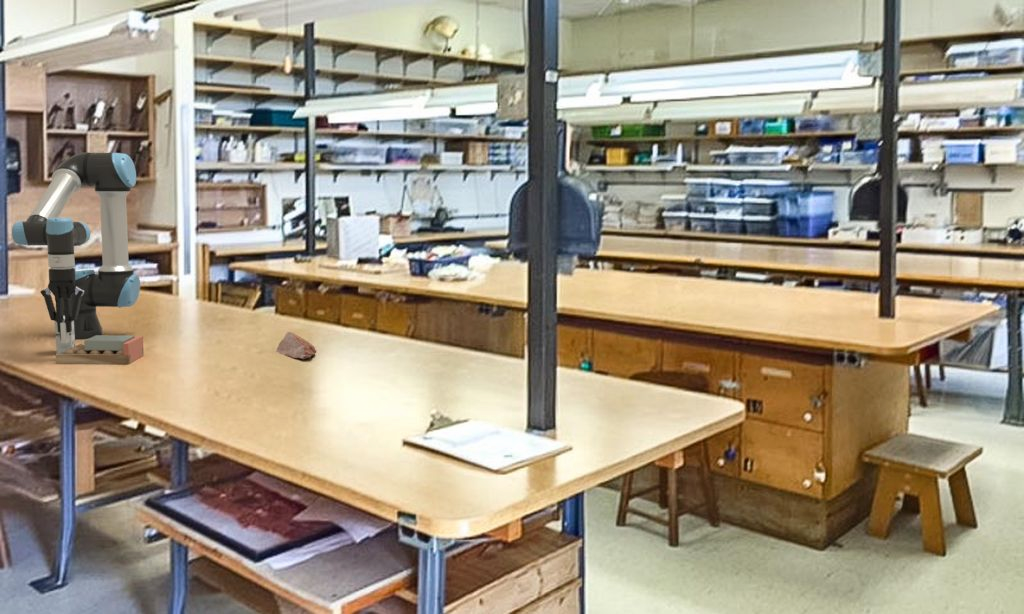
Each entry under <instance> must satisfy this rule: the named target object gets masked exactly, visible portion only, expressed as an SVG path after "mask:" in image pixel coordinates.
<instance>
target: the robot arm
mask: <svg viewBox="0 0 1024 614" xmlns="http://www.w3.org/2000/svg"><path fill="white" fill-rule="evenodd" d="M136 170H137V169H136V167H135V164H134V161H133V160H132V158H131V157H130V155H128V154H127V153H122V152H80V153H76V154H74V155H72V156H70V157H68V158H67V159H65V160H64V161H62V162H61V163H60V164H59V165H58V166H57V168H56V169H55V170H54V171H53V172H52V175H51V182H50V183H49V185H48V186H47V188H46V190H44V193H43V194H42V196H41V197H40V200H38V202H37V204H36V205H35V206H34V208H33V210H32V211H31V213H30V214H29V216H28V218H27V219H26V221H24V220H20V221H17V222H16V221H15V222H14V223H13V225H12V228H11V237H12V241H13V242H14V243H15V244H16V245H19V246H28V247H30V246H32V247H33V246H34V247H35V246H40V247H41V246H46V247H47V264H48V267H49V268H48V284H47V287H45V288H44V289H42V290H40V294H41V295H42V297H43V299H44V302H45V305H46V308H47V312H48V315H49V319H50V320H51V321H54V322H55V321H56V322H57V328H58V332H61V343H63V344H66V343H68V342H69V333H70V332H71V331H72V321H74V333H75V340H76V339H77V340H78V339H79V340H80V339H89V338H91V337H93V336H96V335H103V327H102V325H101V322H100V319H99V317H98V314H97V308H98V307H99V308H107V307H108V308H127V307H129V308H130V307H132V306H134V305H135V303H136V302H137V300H138V298H139V295H140V291H141V280H140V277H139V275H138V274H136V273H134V267H132V266H131V265H130V262H129V241H128V240H129V238H128V213H127V211H128V210H127V209H128V207H127V196H128V195H129V194H130V193H131V188H133V187H135V186H136V183H137V171H136ZM83 187H94V192H95V193H96V194H97V196H98V197H99V208H100V230H101V231H100V232H101V254H102V255H101V258H102V265H101V266H100V267H99V268H98V272H97V273H96V272H95V269H84V270H76V269H75V268H74V267H76V261H75V247H80V246H82V245H84V244H86V243H87V242H88V241H89V240H90V238H91V230H90V227H89V226H88V225H87V224H86V223H84V222H81V221H73V219H72V218H71V217H60V215H61V214H62V212H63V210H64V209H65V207H66V205H67V204H68V202H69V201H70V199H71V197H72V196H73V194H74V193H76V192H78V191H79V190H80V189H81V188H83ZM51 293H52V295H53V296H54V301H55V303H54V301H53V298H52V295H51ZM63 316H65V321H64V319H63ZM63 321H64V322H63Z"/></svg>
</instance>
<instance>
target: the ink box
mask: <svg viewBox="0 0 1024 614" xmlns="http://www.w3.org/2000/svg"><path fill="white" fill-rule="evenodd" d="M63 319H64V321H65V316H63ZM64 321H63V322H64ZM54 334H55V348H56V354H63V352H64V351H66V350H68V349H70V348H72V347H75V346H76V339H75V333H74V321H72V331H71V332H70V333H69V342H68V343H66V344H63V343H61V332H58V328H57V322H56V321H54Z"/></svg>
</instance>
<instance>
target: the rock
mask: <svg viewBox="0 0 1024 614" xmlns="http://www.w3.org/2000/svg"><path fill="white" fill-rule="evenodd" d="M277 352H278V354H280V355H283V356H287V357H291V358H292V359H302V360H305V359H308V358H309V359H310V358H311V357H312V356H313V357H315V356H316V354H315V353H316V352H317V350H316V347H315V346H314V345H313V344H312V343H310V342H309V341H308V340H306V339H305V338H302V337H301V336H298V335H297V334H296V333H294V332H292V331H287V332H286V333H285V335H284V337H283V339H281V341H280V342H279V343H278V346H277V348H276V353H277Z"/></svg>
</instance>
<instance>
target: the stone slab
mask: <svg viewBox="0 0 1024 614" xmlns="http://www.w3.org/2000/svg"><path fill="white" fill-rule="evenodd" d="M135 337H136V336H135V335H113V334H112V335H110V334H109V335H108V334H106V335H104V334H102V335H96V336H93V337H91V338H86V339H85V340H84V341H83V342H84V344H83V345H84V346H85V350H117V351H120V350H121V351H123V343H125V342H127V341H129V340H131V339H133V338H135Z"/></svg>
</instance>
